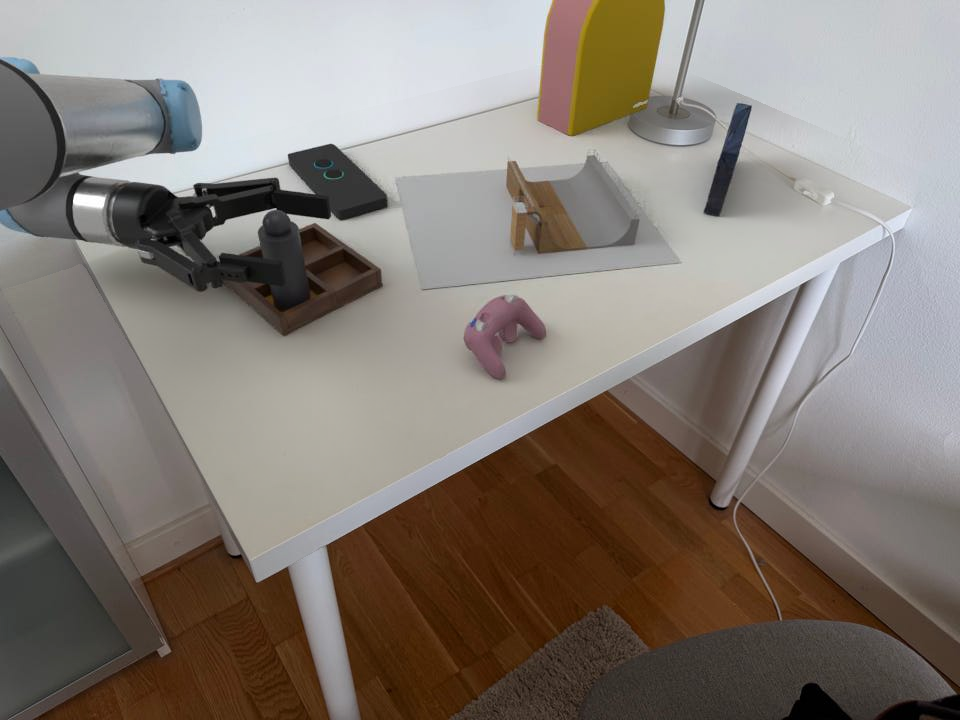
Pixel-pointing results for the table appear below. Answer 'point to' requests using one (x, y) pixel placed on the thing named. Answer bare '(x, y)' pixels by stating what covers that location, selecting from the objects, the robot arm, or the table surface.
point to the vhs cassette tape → (728, 159)
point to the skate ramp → (526, 224)
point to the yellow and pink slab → (597, 61)
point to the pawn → (285, 259)
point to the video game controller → (500, 330)
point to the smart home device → (338, 181)
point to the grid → (314, 281)
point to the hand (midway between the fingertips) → (307, 238)
